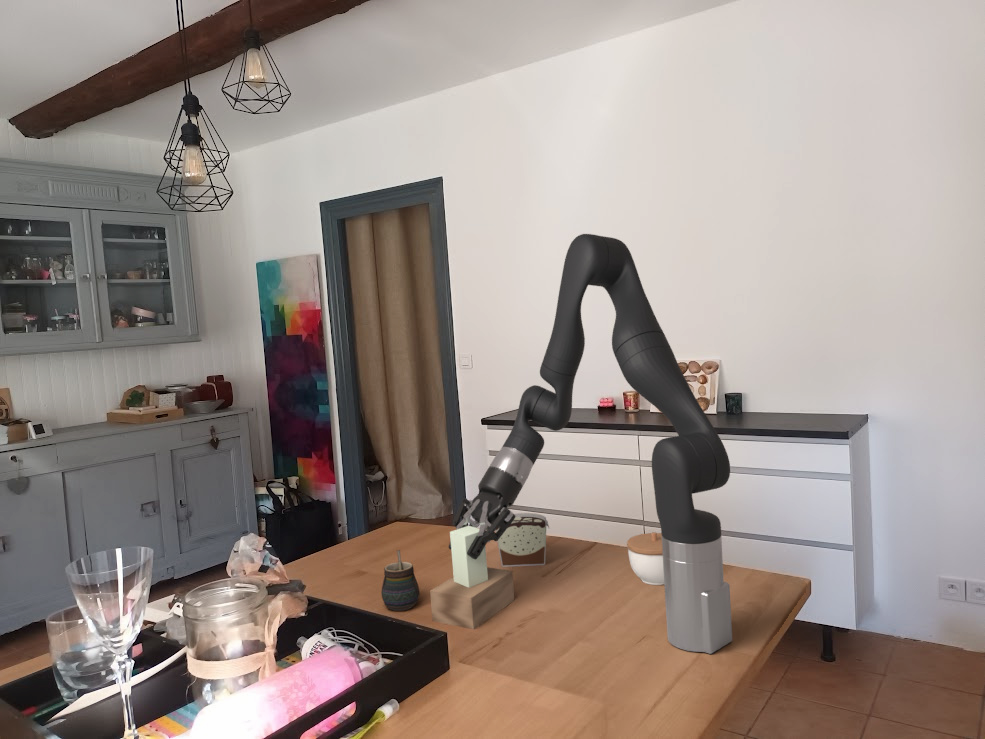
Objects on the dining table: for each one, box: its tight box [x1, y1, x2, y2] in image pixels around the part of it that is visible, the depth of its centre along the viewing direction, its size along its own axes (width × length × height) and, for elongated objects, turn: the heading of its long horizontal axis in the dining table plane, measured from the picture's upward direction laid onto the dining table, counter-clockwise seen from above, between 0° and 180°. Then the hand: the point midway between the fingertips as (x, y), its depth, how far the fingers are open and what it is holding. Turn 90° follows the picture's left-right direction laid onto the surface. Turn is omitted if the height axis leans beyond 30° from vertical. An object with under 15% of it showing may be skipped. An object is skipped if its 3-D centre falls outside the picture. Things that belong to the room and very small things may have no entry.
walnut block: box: [429, 566, 515, 630], centre depth 137 cm, size 9×14×6 cm, turn 148°
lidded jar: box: [626, 531, 664, 586], centre depth 146 cm, size 11×11×9 cm
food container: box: [494, 512, 550, 567], centre depth 162 cm, size 12×6×10 cm, turn 84°
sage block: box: [449, 525, 488, 588], centre depth 136 cm, size 4×4×10 cm
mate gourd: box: [380, 549, 421, 612], centre depth 142 cm, size 7×8×10 cm
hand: (462, 553), depth 136 cm, fingers open, 5 cm apart
